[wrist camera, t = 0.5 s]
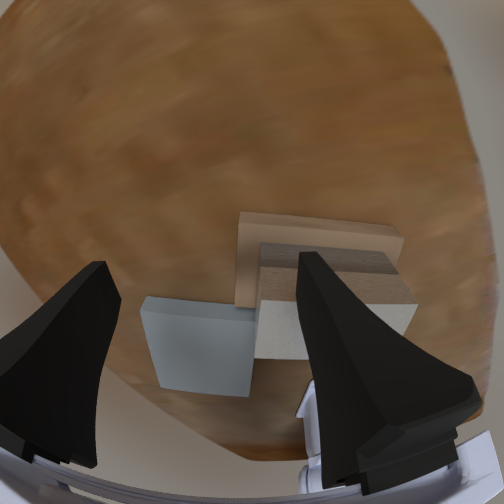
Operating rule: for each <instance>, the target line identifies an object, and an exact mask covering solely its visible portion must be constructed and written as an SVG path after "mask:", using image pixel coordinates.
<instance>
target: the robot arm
mask: <svg viewBox="0 0 504 504" xmlns="http://www.w3.org/2000/svg"><path fill="white" fill-rule="evenodd" d="M295 295H296V302H297V310H298V317H299V322H300V326H301V330H302V334H303V338H304V342H305V345H306V349H307V353H308V357H309V361H310V365H311V369H312V374H313V379H314V380H312V381H311V382H310V383H309V386H308V388H307V390H306V393H305V395H304V398H303V400H302V402H301V404H300V407H299V409H298V411H297V414H296V417H297V418H303V422H304V432H305V443H306V452H307V455H308V457H309V458H308V465H306V466H304V467H303V468H302V470H301V471H300V473H299V477H298V491H299V495H291V496H280V497H266V498H210V497H195V496H185V495H177V494H168V493H162V492H155V491H150V490H144V489H140V488H135V487H130V486H126V485H122V484H117V483H114V482H110V481H106V480H103V479H99V478H96V477H93V476H90V475H86V474H83V473H80V472H77V471H75V470H72V469H69V468H66V467H64V466H61V465H60V461H61V462H63V463H67V464H69V463H70V462H72V463H75V464H78V465H81V466H84V467H87V468H90V469H92V468H94V467H95V466H97V458H96V457H97V456H96V441H95V419H96V405H97V396H98V388H99V382H100V376H101V372H102V368H103V365H104V361H105V358H106V355H107V352H108V349H109V345H110V342H111V339H112V336H113V333H114V330H115V327H116V324H117V320H118V315H119V311H120V305H121V300H122V299H121V297H120V295H119V293H118V290H117V288H116V286H115V283H114V281H113V279H112V276H111V274H110V271H109V269H108V266H107V264H106V261H93V262H91V263H90V264H88V265H87V266H86V267H85V268H83V269H82V270H81V271H80V272H79V273H78V274H76V275H75V276H74V277H73V278H72V279H71V280H70V281H69V282H68V283H67V284H65V285H64V286H63V287H62V288H61V289H60V290H59V291H58V292H57V293H56V294H55V295H54V296H53V297H51V298H50V299H49V300H48V301H47V302H46V303H45V304H44V305H43V306H41V308H39V309H38V310H37V311H36V312H35V313H34V314H33V315H31V316H30V317H29V318H28V319H27V320H25V321H24V322H23V323H22V324H20V325H19V326H18V327H17V328H15V329H14V330H12V331H11V332H10V333H8V334H7V335H5V336H4V337H3V338H1V339H0V504H107V503H105V502H102V501H98V500H95V499H92V498H88V497H86V496H82V495H79V494H76V493H73V492H71V490H70V488H69V486H68V485H70V486H72V487H75V488H77V489H80V490H83V491H85V492H88V493H91V494H94V495H97V496H101V497H104V498H107V499H111V500H114V501H118V502H122V503H125V504H484V503H486V502H487V501H488V500H490V499H491V498H492V497H494V496H495V495H496V494H498V493H499V492H500V491H501V490H503V488H504V485H503V479H502V475H501V471H500V467H499V463H498V459H497V455H496V452H495V448H494V445H493V442H492V438H491V435H490V432H489V430H487V429H486V430H484V431H483V432H481V433H479V434H478V435H476V436H474V437H472V438H470V439H468V440H466V441H465V442H463V443H461V444H459V445H457V446H456V447H455V444H454V439H456V438H457V437H458V434H457V431H456V427H457V426H458V425H460V424H461V423H463V422H464V421H465V420H467V419H468V418H469V417H470V416H472V415H473V414H474V413H475V412H476V411H477V410H478V409H479V408H480V407H481V404H482V400H481V397H480V395H479V392H478V390H477V388H476V385H475V383H474V381H473V379H472V377H471V376H470V375H468V374H466V373H464V372H462V371H460V370H457V369H455V368H453V367H451V366H449V365H447V364H445V363H444V362H442V361H440V360H438V359H437V358H435V357H433V356H432V355H430V354H428V353H427V352H425V351H424V350H422V349H421V348H419V347H417V346H416V345H414V344H413V343H412V342H410V341H409V340H407V339H406V338H405V337H403V336H402V335H400V334H399V333H398V332H397V331H395V330H394V329H393V328H391V327H390V326H389V325H388V324H387V323H385V322H384V321H383V320H382V319H381V318H379V317H378V316H377V315H376V314H375V313H374V312H372V311H371V310H370V309H369V308H368V307H367V306H366V305H365V304H364V303H363V302H362V301H361V300H360V299H359V298H358V297H357V296H356V295H355V294H354V293H353V292H352V291H351V290H350V289H349V288H348V286H347V285H346V284H345V283H344V282H343V281H342V280H341V279H340V278H339V277H338V275H337V274H336V273H335V272H334V271H333V270H332V269H331V267H330V266H329V265H328V264H327V263H326V262H325V260H324V259H323V258H322V257H321V256H320V255H319V254H318V253H317V251H310V252H299V260H298V272H297V283H296V294H295Z"/></svg>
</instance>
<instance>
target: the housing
mask: <svg viewBox="0 0 504 504" xmlns="http://www.w3.org/2000/svg"><path fill="white" fill-rule="evenodd" d="M310 251H317V253H318V254H319V255H320V256H321V257H322V258H323V259H324V260H325V262H326V263H327V264H328V265H329V266H330V267H331V269H332V270H333V271H334V272H335V273H336V274H337V275H338V277H339V278H340V279H341V280H342V281H343V282H344V283H345V284H346V285H347V286H348V288H349V289H350V290H351V291H352V292H353V293H354V294H355V295H356V296H357V297H358V298H359V299H360V300H361V301H362V302H363V303H364V304H365V305H366V306H367V307H368V308H369V309H370V310H371V311H372V312H374V313H375V314H376V315H377V316H378V317H379V318H381V319H382V320H383V321H384V322H385V323H387V324H388V325H389V326H390V327H391V328H393V329H394V330H395V331H397V332H398V333H399V334H400V335H402V336H403V334H404V332H405V330H406V328H407V326H408V324H409V322H410V321H411V319H412V317H413V315H414V313H415V311H416V309H417V306H418V303H417V301H416V299H415V298H414V296H413V295H412V293H411V292H410V290H409V288H408V287H407V285H406V284H405V282H404V281H403V279H402V278H401V276H400V275H399V273H398V272H397V270H396V269H395V267H394V266H393V265H392V263H391V262H390V260H389V259H388V257H387V256H386V254H385V253H384V252H381V251H369V250H357V249H345V248H333V247H320V246H308V245H295V244H282V243H268V242H260V251H259V261H258V271H257V281H256V291H255V330H254V358H264V359H298V360H309V357H308V353H307V349H306V345H305V342H304V338H303V334H302V330H301V326H300V322H299V317H298V310H297V302H296V295H295V294H296V283H297V272H298V260H299V252H310Z"/></svg>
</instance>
